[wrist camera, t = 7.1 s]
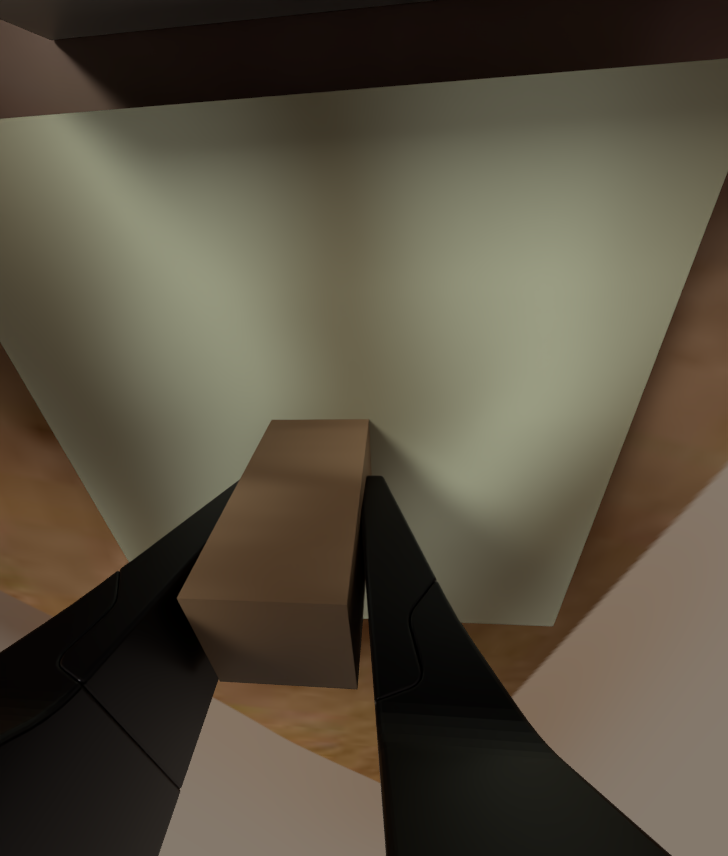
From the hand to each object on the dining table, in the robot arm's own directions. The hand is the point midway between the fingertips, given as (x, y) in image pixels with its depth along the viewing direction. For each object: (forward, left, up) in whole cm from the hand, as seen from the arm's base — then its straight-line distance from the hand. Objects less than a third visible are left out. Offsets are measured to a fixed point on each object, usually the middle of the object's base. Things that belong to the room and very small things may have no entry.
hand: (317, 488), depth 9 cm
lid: (0, 0, -2) cm, 2 cm away
